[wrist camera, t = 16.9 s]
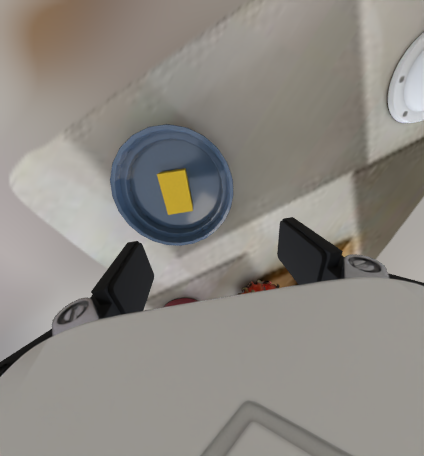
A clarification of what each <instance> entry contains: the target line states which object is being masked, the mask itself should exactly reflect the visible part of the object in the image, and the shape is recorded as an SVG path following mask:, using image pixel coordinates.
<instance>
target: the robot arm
mask: <svg viewBox="0 0 424 456" xmlns="http://www.w3.org/2000/svg"><path fill="white" fill-rule="evenodd" d="M388 107H389V111H390V113H391V115H392V117H393V118H394V119H395V120H396V121H399V122H401V123H414V122H419V121H422V120H424V32H423V33H422V34H421V35H420V36H419V37H418V38H417V39H416V40H415V41H414V42H413V43H412V45H411V46H410V47H409V48H408V49H407V51H406V52H405V54H404V55H403V57H402V58H401V60H400V62H399V64H398V66H397V68H396V70H395V72H394V74H393V77H392V79H391V83H390V87H389V92H388ZM342 252H343V251H341V250H340V249H338V248H337V247H335V246H334V245H333V244H331V243H330V242H328V241H327V240H325V239H324V238H322V237H321V236H319V235H318V234H317V233H315V232H314V231H312V230H311V229H309V228H308V227H306V226H305V225H303V224H302V223H300V222H299V221H298V220H296V219H295V218H293V217H291V218H285V219H283V220H282V221H281V222H280V229H279V241H278V253H277V254H278V258H279V260H280V261H281V262H282V263H283V265H284V266H285V267H286V269H287V270H288V271H289V273H290V274H291V275H292V276H293V278H294V279H295V280H296V282H297V283H298V284H299V285H296V286H290V287H283V288H277V289H271V290H265V291H258V292H252V293H246V294H240V295H234V296H228V297H222V298H216V299H210V300H204V301H198V302H192V303H186V304H180V305H174V306H169V307H163V308H157V309H151V310H145V311H143V310H144V307H145V304H146V301H147V298H148V295H149V292H150V289H151V286H152V283H153V280H154V273H153V271H152V268H151V266H150V263H149V261H148V258H147V255H146V253H145V250H144V248H143V245H142V243H139V242H138V241H135V242H128V243H127V244H126V246H125V247H124V248H123V250H122V251H121V252H120V254H119V255H118V256H117V258H116V259H115V260H114V262H113V263H112V264H111V266H110V267H109V268H108V270H107V271H106V272H105V274H104V275H103V276H102V278H101V279H100V280H99V282H98V283H97V284H96V286H95V287H94V289H93V290H92V291H91V293H92V294H93V295H92V297H91V298H81V299H78V300H76V301H74V302H72V303H70V304H69V305H67V306H65V308H63V309H62V310H61V311H60V312H59V313H58V314H57V315H56V316H55V318H54V319H53V322H52V329H51V330H49V331H48V332H46V333H45V334H43V335H41V336H40V337H38V338H37V339H35V340H34V341H32V342H31V343H29V344H28V345H26V346H25V347H23V348H21V349H20V350H18V351H17V352H16V353H14V354H12V355H11V356H9V357H7V358H6V359H4V360H3V361H1V362H0V456H424V283H422V282H418V281H415V280H411V279H407V278H403V277H399V276H396V275H392V274H388V272H387V269H386V268H385V266H384V265H383V264H382V263H380V262H378V261H377V260H375V259H373V258H370V257H367V256H363V255H347V256H346V257H343V256H342Z"/></svg>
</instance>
